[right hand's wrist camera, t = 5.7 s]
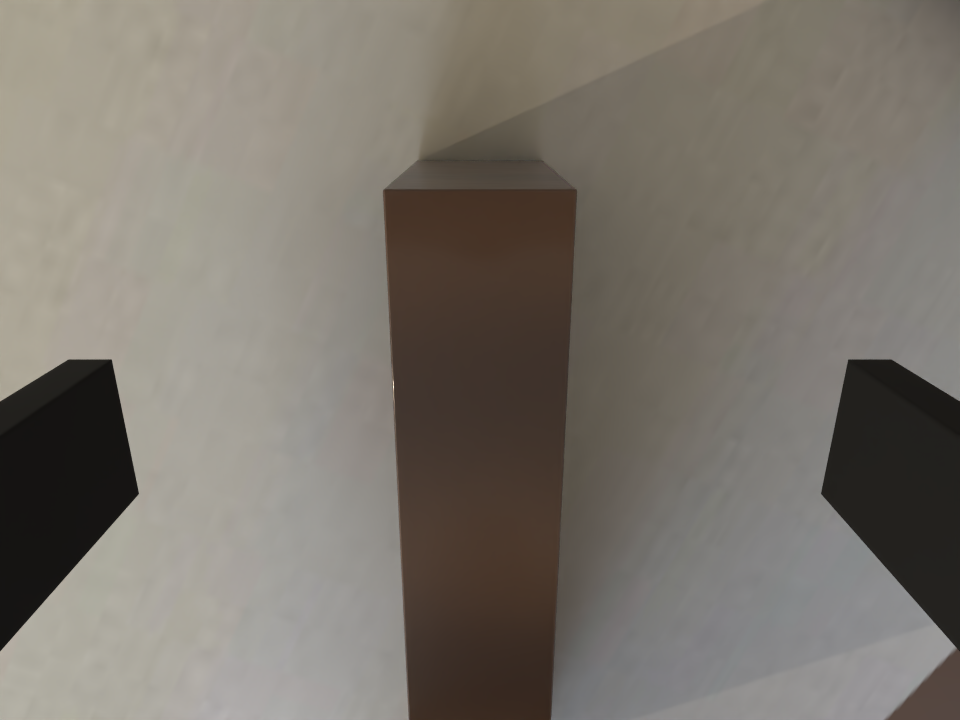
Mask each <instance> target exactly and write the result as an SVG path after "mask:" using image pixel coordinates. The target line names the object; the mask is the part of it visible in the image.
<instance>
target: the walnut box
mask: <svg viewBox="0 0 960 720" xmlns="http://www.w3.org/2000/svg"><path fill="white" fill-rule="evenodd" d="M383 199H384V220H385V240H386V261H387V281H388V302H389V323H390V343H391V364H392V384H393V405H394V425H395V446H396V466H397V487H398V508H399V528H400V549H401V569H402V590H403V610H404V631H405V651H406V672H407V692H408V713H409V720H551V709H552V689H553V669H554V648H555V628H556V608H557V587H558V567H559V546H560V526H561V506H562V485H563V465H564V445H565V424H566V404H567V383H568V363H569V343H570V322H571V302H572V282H573V261H574V241H575V220H576V200H577V190H576V189H575V188H574V187H572V186H571V185H570V184H569V183H568V182H567V181H566V180H564V179H563V178H562V177H561V176H560V175H559V174H557V173H556V172H555V171H554V170H553V169H552V168H550V167H549V166H548V165H547V164H546V163H545V162H543V161H417V162H415V163H414V164H413V165H412V166H411V167H410V168H408V169H407V170H406V171H405V172H404V173H403V174H401V175H400V176H399V177H398V178H397V179H396V180H394V181H393V182H392V183H391V184H390V185H389V186H388V187H386V188H385V189H384V190H383Z"/></svg>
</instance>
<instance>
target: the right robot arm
mask: <svg viewBox="0 0 960 720" xmlns="http://www.w3.org/2000/svg"><path fill="white" fill-rule="evenodd" d="M138 494H139V492H138V487H137V482H136V477H135V472H134V467H133V462H132V457H131V452H130V448H129V443H128V438H127V433H126V428H125V423H124V418H123V413H122V408H121V403H120V398H119V393H118V388H117V384H116V379H115V374H114V369H113V364H112V360H67V361H66V362H64V363H62V364H61V365H59V366H57V367H56V368H54V369H53V370H51V371H49V372H48V373H46V374H44V375H43V376H41V377H40V378H38V379H36V380H35V381H33V382H31V383H30V384H28V385H26V386H25V387H23V388H22V389H20V390H18V391H17V392H15V393H13V394H12V395H10V396H9V397H7V398H5V399H4V400H2V401H0V651H1V650H2V649H3V647H4V646H5V645H6V644H7V643H8V642H9V641H10V640H11V638H12V637H13V636H14V635H15V634H16V633H17V632H18V630H19V629H20V628H21V627H22V626H23V625H24V624H25V623H26V621H27V620H28V619H29V618H30V617H31V616H32V615H33V613H34V612H35V611H36V610H37V609H38V608H39V607H40V606H41V604H42V603H43V602H44V601H45V600H46V599H47V598H48V596H49V595H50V594H51V593H52V592H53V591H54V590H55V588H56V587H57V586H58V585H59V584H60V583H61V582H62V581H63V579H64V578H65V577H66V576H67V575H68V574H69V573H70V571H71V570H72V569H73V568H74V567H75V566H76V565H77V564H78V562H79V561H80V560H81V559H82V558H83V557H84V556H85V554H86V553H87V552H88V551H89V550H90V549H91V548H92V547H93V545H94V544H95V543H96V542H97V541H98V540H99V539H100V537H101V536H102V535H103V534H104V533H105V532H106V531H107V529H108V528H109V527H110V526H111V525H112V524H113V523H114V522H115V520H116V519H117V518H118V517H119V516H120V515H121V514H122V512H123V511H124V510H125V509H126V508H127V507H128V506H129V505H130V503H131V502H132V501H133V500H134V499H135V498H136V497H137V495H138ZM821 494H822V495H823V497H824V498H825V499H826V500H827V501H828V502H829V503H830V505H831V506H832V507H833V508H834V509H835V510H836V511H837V512H838V514H839V515H840V516H841V517H842V518H843V519H844V520H845V522H846V523H847V524H848V525H849V526H850V527H851V528H852V529H853V531H854V532H855V533H856V534H857V535H858V536H859V537H860V539H861V540H862V541H863V542H864V543H865V544H866V545H867V547H868V548H869V549H870V550H871V551H872V552H873V553H874V554H875V556H876V557H877V558H878V559H879V560H880V561H881V562H882V564H883V565H884V566H885V567H886V568H887V569H888V570H889V571H890V573H891V574H892V575H893V576H894V577H895V578H896V579H897V581H898V582H899V583H900V584H901V585H902V586H903V587H904V588H905V590H906V591H907V592H908V593H909V594H910V595H911V596H912V598H913V599H914V600H915V601H916V602H917V603H918V604H919V606H920V607H921V608H922V609H923V610H924V611H925V612H926V613H927V615H928V616H929V617H930V618H931V619H932V620H933V621H934V623H935V624H936V625H937V626H938V627H939V628H940V629H941V630H942V632H943V633H944V634H945V635H946V636H947V637H948V638H949V640H950V641H951V642H952V643H953V644H954V645H955V646H956V647H957V649H958V650H959V651H960V401H958V400H956V399H955V398H953V397H951V396H950V395H948V394H947V393H945V392H943V391H942V390H940V389H938V388H937V387H935V386H934V385H932V384H930V383H929V382H927V381H925V380H924V379H922V378H920V377H919V376H917V375H916V374H914V373H912V372H911V371H909V370H907V369H906V368H904V367H903V366H901V365H899V364H898V363H896V362H894V361H893V360H848V364H847V369H846V374H845V379H844V384H843V388H842V393H841V398H840V403H839V408H838V413H837V418H836V423H835V428H834V433H833V438H832V443H831V448H830V452H829V457H828V462H827V467H826V472H825V477H824V482H823V487H822V492H821Z"/></svg>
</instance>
